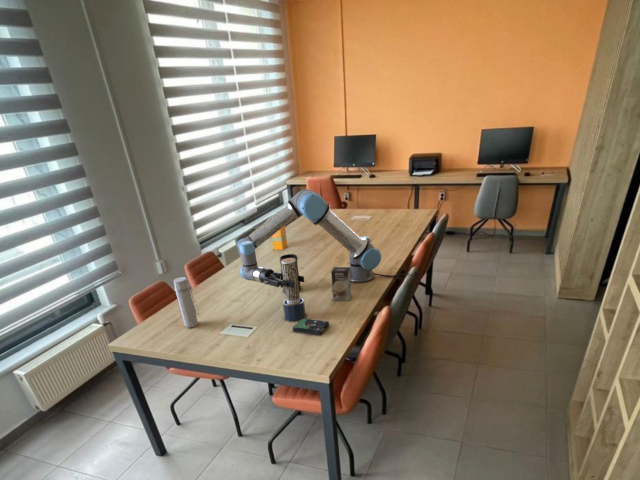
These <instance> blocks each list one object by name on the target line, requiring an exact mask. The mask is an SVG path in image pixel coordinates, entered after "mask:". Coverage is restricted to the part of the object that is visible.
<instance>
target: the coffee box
mask: <svg viewBox="0 0 640 480" xmlns="http://www.w3.org/2000/svg"><path fill="white" fill-rule="evenodd" d="M330 272H331V273H330V274H331V289H332V290H331V291H332V301H350V299H351V297H352V284H351V283H352V282H351V280H350V266H349V267H348V266H333V268H332V269H331V271H330Z"/></svg>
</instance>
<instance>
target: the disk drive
mask: <svg viewBox="0 0 640 480" xmlns="http://www.w3.org/2000/svg"><path fill="white" fill-rule="evenodd" d="M329 327H330V321H326V320H319V319H312V318H302V319H301V320H299V321H296V323H295V324H294V325H293V326H292V332H294V333H301V334H309V335H315V336H321V335H322V334H323V333H324V332H325V331H326V330H327V329H328V328H329Z"/></svg>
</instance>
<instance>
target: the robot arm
mask: <svg viewBox="0 0 640 480" xmlns="http://www.w3.org/2000/svg"><path fill="white" fill-rule="evenodd" d="M301 216H303V217H304V218H306V219H307V220H309V221H310V222H311V223H312V224H313V225H314V226H318V225H319V226H320V227H321V228H322V229H323V230H325V231H326V232H327V233H328V234H329V235H330V236H331V237H333V239H335V241H336V242H338V243H339V244H340V245H342V246H343V247H344V248H345V249H346V250H347V251H348V252H349V267H350V280H351V283H354V284H360V283H367V282H369V281H372V280H373V279H374V277H375V276H379V277H387V278H396V277H397V278H399V277H403V276H406V275H407V276H409V275H410V274H409V273H410V272H406V273H402V274H401V273H400V274H380V273H375V272H374V271H373V270H375V269H376V268H377V267H378V266H379V265H380V263H381V261H382V253H381V251H380V250H379V248H377V247H375V246H374V244H372V243H371V238H370V237H369V236H359V235H358V234H357V233H356V232H354V231H353V230H352V228H350V227H349V226H348V225H347V224H346V223H345V222H344V221H343V220H341V218H339V217H338V215H336V213H334V212H333V211H332V210H331V205H330V204H329V203H328V202H327V201H326V200H324V198H323V197H322V195H320V194H319V193H317V192H315V191H314V190H312V189H309V188H308V189H307V188H305V189H302V190H300V191H299V192H297V193H296V194H295V195H294V196H292V197H291V198H290V199H289V200H287V202H286V205H284V207H282V208H281V209H280V210H278V211H277V212H276V213H275V214H273V215H272V216H271V217H270V218H268V219H267V220H266V221H265V222H264V223H262V224H261V225H259V226H258V227H257V228H256V229H254V230H253V231H252V232H250V234H249V235H247V236H245V237H243V238H241V239H239V240H238V241H237V251H238V252H239V255H240V258H241V262H242V265H241V266H240V268H239V275H240V277H241V278H242V279H243V280H247V281H252V282H257V283H261V284H264V285H268V286H272V287H276V288H281V289H283V286H287V287H292V288H294V282H292V281H287V280H283V279H284V277H283V271H281V270H280V272H278V271H277V272H276V271H274V269H272V268H268V267H262V266H258V261H257V254H256V249H257V248H259V247H260V246H261V245H262V244H264V242H266V241H268V240H269V239H270V238H272V235H274V234H275V233H276V232H277V231H279V230H280V229H281V228H283V227H284V226H285V227H286V226H287V225H288V224H289V223H291V222H292V221H293V220H294V219H298V218H300V217H301ZM414 272H415V273H414V274H416V275H419V276H422V274H421V273H420V272H418V271H414ZM408 274H409V275H408ZM414 274H413V275H414ZM297 277H298V281H299V282H300V283H305V277H304V276H303V275H299V276H298V275H297ZM282 280H283V282H282Z"/></svg>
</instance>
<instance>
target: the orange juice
mask: <svg viewBox="0 0 640 480" xmlns="http://www.w3.org/2000/svg"><path fill="white" fill-rule="evenodd" d="M287 240H288V239H287V232H286V225H285V226H284V227H283V228H281V229H280V230H279V231H277V232H276V233H275V234H274V235H272V236H271V242H272V248H273V251H274V250H275V251H276V250H277V251H278V250H279V251H281V250H285V249H286V248H287V247H288V241H287Z"/></svg>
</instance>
